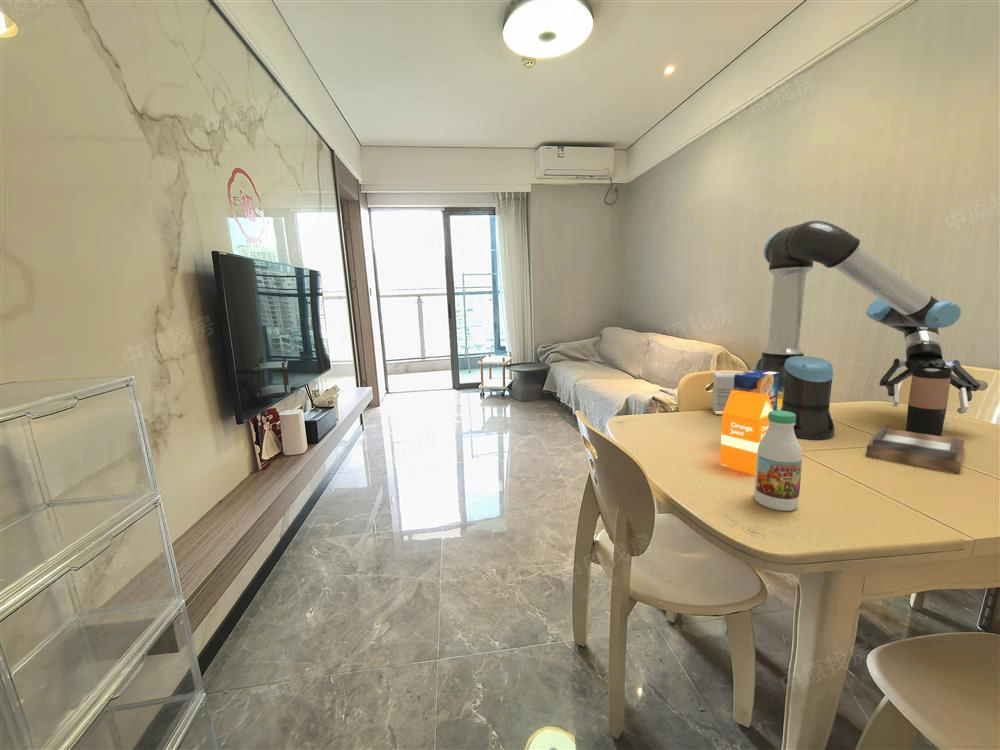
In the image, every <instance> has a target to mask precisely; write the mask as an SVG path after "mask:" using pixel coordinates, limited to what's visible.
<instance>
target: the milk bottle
mask: <svg viewBox="0 0 1000 750" xmlns="http://www.w3.org/2000/svg"><path fill="white" fill-rule="evenodd" d="M795 421H796V415H795V414H794V413H792V412H788V411H780V410H778V409H777V410H775V411H770V412H769V413H768V422H769V427H768V429H767V431H766V433H765V435H764V436H763V438H762V439H761V441H760V443H759V446H758V450H757V460H756V474H755V476H754V490H753V491H754V492H753V494H754V495H753V497H754V499H755V501H756V503H758V504H760V505H762V506H763V507H765V508H768V509H771V510H775V511H781V512H791V511H794V510H796V509H797V508H798V507H799V502H800V491H801V481H802V480H801V477H802V465H803V464H802V463H803V453H802V448H801V445H800V442H799V441H798V437H796V436H795V433H794V425H795Z"/></svg>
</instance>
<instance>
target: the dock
mask: <svg viewBox="0 0 1000 750" xmlns="http://www.w3.org/2000/svg"><path fill="white" fill-rule="evenodd" d="M965 440H966V439H962V438H961V439H959V438H956V437H947V436H942V435H941V436H935V435H928V434H921V433H914V432H908V431H906V430H900V429H893V428H887V427H880V426H879V429H878V430H877V431H876V433H875V434H874V435H873V437H872V438H871V440H870V441H869V443H868V444H867V446H866V454H865V456H866V457H869V458H874V459H880V460H884V461H891V462H895V463H900V464H905V465H909V464H910V465H911V466H915V465H917V466H916V467H920V466H923V467H922V468H925V467H927V468H926V469H930V468H932V469H931V470H935V469H937V471H940V470H942V472H946V471H948V472H947V473H951V472H953V473H952V474H956V473H958V474H957V475H960V470H961V464H962V459H963V452H964V447H965V446H964V445H965Z"/></svg>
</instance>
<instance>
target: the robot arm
mask: <svg viewBox="0 0 1000 750" xmlns="http://www.w3.org/2000/svg"><path fill="white" fill-rule="evenodd" d="M763 256H764V259H765V260H766V261H767V263H768V272H769V273H770V274H772V276H773V283H772V284H773V285H772V294H771V303H770V304H771V306H770V317H769V318H770V319H769V328H768V329H769V330H768V341H767V346H766V347H765V348H764V349H763V350H762V351H761V357H760V358H759V359H758V360H756V363H755V364H754V369H753V370H761V371H771V372H780V373H779V386H778V392H781V393H782V401H781V402H782V404H781V408H780V411H788V412H792V413H794V414H795V415H796V421H795V425H794V433H795V436H796V438H797V439H798V438H800V439H808V440H828V439H832V438H834V437H835V432H836V431H835V425H834V421H833V418H832V416H831V413H830V404H831V394H832V383H833V378H834V371H833V370H834V367H833V364H832V362H831V361H829V360H826V359H824V358H821V357H813V356H808V355H807V356H805V352H804V351H803V350H802V349H801V347H800V336H801V328H802V320H803V319H802V318H803V317H802V316H803V310H804V301H805V300H804V297H805V287H806V280H807V279H806V278H807V274H808V273H809V272H810V271H811V270H812V269H813V268H814V262H816V263H819V264H821V265H823V266H824V267H826V268H828V269H833V268H834V269H836V270H838V271H839V272H840V273H842V274H843V275H845V276H846V277H847V278H848V279H850V280H852V282H853V281H854V282H855V283H856V284H858V285H859V286H860V287H862V288H864V289H865V290H866V291H868V292H870V294H872V295H874V296H875V297H876V298H877V299H875V300H873V302H871V303H870V304H869V306H868V307H867V310H866V315H867V317H868V318H870V319H871V320H873V321H875V322H878V323H880V324H883V325H884V326H888V327H889V328H892V329H894V330H896V331H899V332H902V333H903V335H904V342H905V343H904V344H905V346H904V347H905V356H906V357H905V358H906V360H900V358H894V360H893V362H892V366H890V368H889V369H888V370H887V371H886V373H885V374H884V375H883V376H882V377H881V379H880V380H879V384H878V385H879V386H880V387H886V389H887V394H888V396H889V397H892V404H893V407H895V408H896V407H897V408H898V405H899V404H900V398H899V383H901V382H903V381H904V380H905V379H907V378H908V377H912V375H913V368H914V367H916V366H935V367H945V368H950V369H952V372H953V373H951V380H950V386H951V385H952V386H953V387H955V388H956V389H957V390H959V391H958V393H957V394H958V399H959V400H958V401H959V405H960V411H961V413H966V412H967V410H969V402H971V400H972V398H973V394H972V392H978V390H979V388H981V384H980V382H979V381H977V379H975V378H974V377H973V376H972V375H971V374H970V373H969V372H968V371H967V370H966V369H965V368H964V367H962V365H961V363H960V361H959V360H958V359H954V360H953V361H947V362H946V361H944V360H943V351H942V348H941V347H942V346H941V345H942V344H941V338H940V337H941V336H940V332H939V328H940V329H941V328H948V327H952V326H954V325H955V324H956V323H957V322H958V320H959V319H960V318H961V315H962V310H961V307H960V306H959V305H958V304H957V302H954V301H947V300H938V299H936V297H933V295H931V294H929V293H928V292H927V291H925V290H924V289H922V288H921V287H919V286H918V285H916V284H915V283H914V282H912V281H910V280H909V279H908V278H907V277H905V276H904V275H902V274H901V273H899V272H898V271H896V270H895V269H894V268H892V267H891V266H890V265H887V264H886V263H885V262H883V261H882V260H881V259H879V258H878V257H876V256H875V255H874V254H872V253H871V252H869V251H868V250H866V249H865V248H863V247H862V246H861V240H860V239H859V238H857V237H856V236H854V235H853V234H852V233H850V232H848V231H847V230H845V229H843V228H842V227H840V226H838V225H835V224H833V223H831V222H828V221H823V220H808V221H805V222H803V223H800V224H796V225H793V226H789V227H785V228H783V229H781V230H779V231H777V232H775V233H774V234H772V235H771V236H770V237H769V238H768V239H767V241H766V243H765V245H764V247H763ZM903 366H904V367H906V369H905V370H904V371H902V372H901V373H899V374H898V375H897V376H895V377H893V378H892V379H891V377H892V376H893V375H894V374H895V373H896V372H897V370H898V369H900V368H902V367H903Z"/></svg>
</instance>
